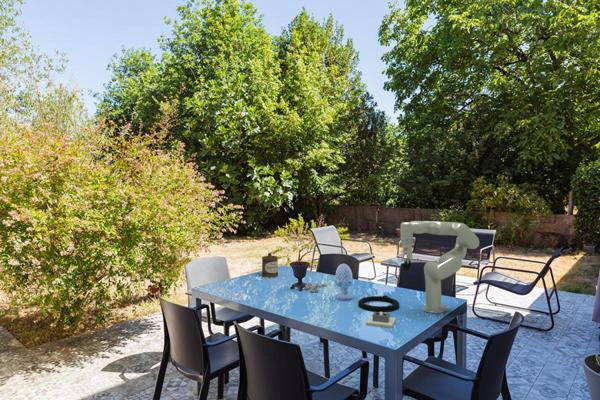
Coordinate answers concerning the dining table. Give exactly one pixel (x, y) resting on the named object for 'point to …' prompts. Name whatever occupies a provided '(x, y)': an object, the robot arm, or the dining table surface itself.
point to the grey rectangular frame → (381, 317)
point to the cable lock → (378, 308)
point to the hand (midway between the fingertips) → (407, 268)
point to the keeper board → (381, 324)
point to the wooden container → (270, 266)
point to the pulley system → (314, 287)
